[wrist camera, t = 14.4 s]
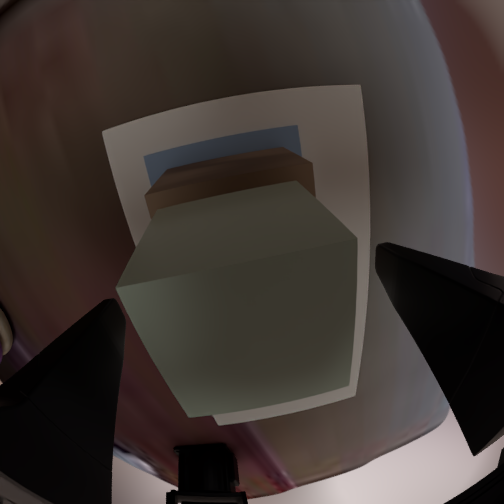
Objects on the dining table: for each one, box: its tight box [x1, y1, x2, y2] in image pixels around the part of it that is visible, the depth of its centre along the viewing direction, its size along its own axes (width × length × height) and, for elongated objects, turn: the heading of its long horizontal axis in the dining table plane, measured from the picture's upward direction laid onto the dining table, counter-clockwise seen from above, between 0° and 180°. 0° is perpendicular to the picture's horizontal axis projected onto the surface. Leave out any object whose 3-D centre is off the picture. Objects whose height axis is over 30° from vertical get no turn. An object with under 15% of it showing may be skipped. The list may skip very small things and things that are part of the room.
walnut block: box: [144, 147, 316, 220], centre depth 13 cm, size 6×6×5 cm
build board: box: [102, 85, 370, 426], centre depth 19 cm, size 14×27×1 cm, turn 10°
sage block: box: [116, 181, 358, 418], centre depth 9 cm, size 5×5×5 cm
